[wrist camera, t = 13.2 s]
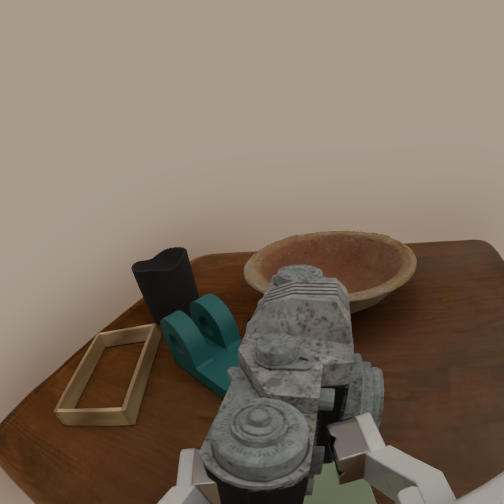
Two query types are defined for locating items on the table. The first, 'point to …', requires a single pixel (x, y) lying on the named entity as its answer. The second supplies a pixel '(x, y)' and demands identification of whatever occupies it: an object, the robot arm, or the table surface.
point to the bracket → (204, 342)
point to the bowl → (339, 263)
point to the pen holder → (167, 283)
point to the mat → (338, 489)
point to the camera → (289, 392)
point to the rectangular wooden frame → (84, 370)
